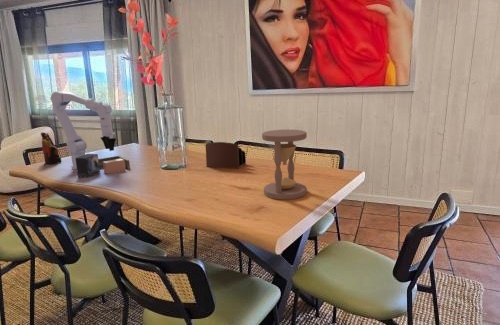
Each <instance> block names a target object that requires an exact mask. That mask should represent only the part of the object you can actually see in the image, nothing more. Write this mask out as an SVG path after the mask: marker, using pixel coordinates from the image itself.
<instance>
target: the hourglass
mask: <svg viewBox="0 0 500 325" xmlns="http://www.w3.org/2000/svg"><path fill="white" fill-rule="evenodd" d="M307 137H308V135H307V132H306V131H305V130H301V129H300V130H299V129H274V130H273V129H272V130H268V131H264V132H262V134H261V138H262V140H263V141H265V142H272V143H274V144H273V145H272V148H273V149H272V150H274V156H273V161H274V164H275V170H274V181H273V182H270V183H269V184H266V185H265V186H263V187H264V188H263V193H264V195H265V196H266V197H267V198H269V199H275V200H281V201H283V200H285V201H286V200H287V201H288V200H295V199H300V198H302V197H305V196H306V194H307V192H308V189H307V185H305V184H304V183H300V182H297V181H296V180H295V163H294V160H293V159H294V155H295V150H296V147H297V145H296V144H294V142H298V141H303V140H306V139H307ZM281 165H282V166H286V167H287V174H288V177H286V176H283V172H282V169H281Z"/></svg>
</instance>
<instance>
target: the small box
mask: <svg viewBox="0 0 500 325" xmlns="http://www.w3.org/2000/svg"><path fill="white" fill-rule="evenodd" d="M75 159H76V166H77V169H76V171H77V177H78V178H89V177H92V176H94V175H96V174H100V173H101V169H100V168H99V161H98V159H99V154H98V153H85V155H83V156H80V157H76V158H75ZM99 172H100V173H99Z"/></svg>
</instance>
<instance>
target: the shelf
mask: <svg viewBox="0 0 500 325" xmlns="http://www.w3.org/2000/svg"><path fill="white" fill-rule="evenodd" d="M116 159H123V160H124V163H125V169H127V170H130V169H131V165H130V160H129V159H128V158H125V157H123V156H122V155H115V156H108V157H103V158H98V161H99V168H100V167H101V168H103V162H104V161H110V160H116Z"/></svg>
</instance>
